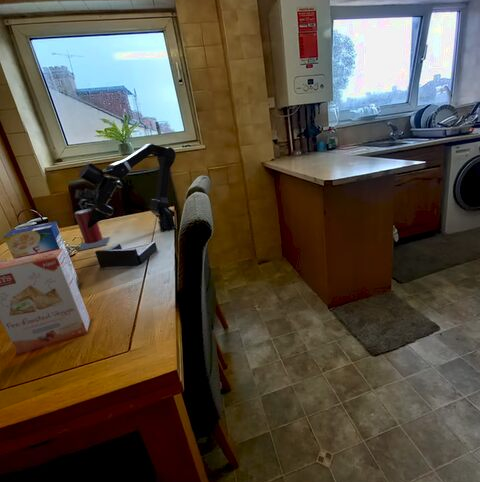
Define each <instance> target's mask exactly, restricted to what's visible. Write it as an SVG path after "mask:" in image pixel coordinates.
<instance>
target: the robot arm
mask: <svg viewBox="0 0 480 482" xmlns="http://www.w3.org/2000/svg"><path fill="white" fill-rule="evenodd" d="M150 155H151V156H154V157H156V158H157V159H156V160H157V162H158V166H159V168H158V174H157V184H156V192H155V197H154V198H150V200H149V201H150V205H149V207H148V208H150V212H151V214H153V215H154V216H155V217H156V218H158V220H157V224H158V228H159V230H160V231H161V232H167V231H171V230H175V229H177V226H176V224H175V219H174V217H175V214H176V213H175V211H174V210H172V209H171V208H170V204H169V200H168V189H169V181H170V173H171V168H172V166H173V164H174V163H175V160H176V155H177V153H176V151H175V150H174V148H173V147H165V146H159V145H156V144H154V143H146V144H144V145H143V146H141V147H140V148H139V149H137V150H136V151H134V152H132V154H130V155H129V156H127V157H125V158H123V159H122V160H118V161H115V162H113V163H110V164H109V165H107V166H106V168H103V169H100V168H99V167H98V166H95V164H94V163H92V162H88V163H87V164H86V165H85V166H83V168H82V169H80V171H79V173H78V178H79V179H81V180H83V181H85V182H87V183H89V184H90V185H92V186H96V185H97V188H96V189H91V188H85V189H84V190H81V189H75V193H74V199H80V200H79V202H78V205H79V208H81V209H80V210H84V209H91V212H92V215H91V217H90V220H89V222H88V225H87V227H89V228H91V227H92V226H93V225H95V224H96V223H97V222H98V223H99V222H100V221H102V220H103V219H105V218H106V217H107V218H108V217H109V216H113V214H114V212H115V210H114V207H112V206H110V205H108V204H109V201H110V200H113V195H114V193H115V190H116V189H117V188H121V189H122V188H124V186H123V184H122V180H116V179H123V178H126V176H127V175H128V174H129V173H130V172H131V170H132V168H133V167H135V166H137V165H138V164H139V163H140V162H142V161H144V160H145V159H147V158H149V156H150ZM107 176H108V177H107Z"/></svg>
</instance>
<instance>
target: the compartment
mask: <svg viewBox="0 0 480 482" xmlns="http://www.w3.org/2000/svg"><path fill="white" fill-rule="evenodd" d="M157 251H158V246H157V243H156V241H152V242H151V243H149V244H148V245H147V246H146V247H144V248H143V249H142V250H137V248H122V246H121V243H117V244H116V243H115V245H114V246H112V247H111V248H109V249H99V250H98V249H97V250H95V251H94V252H95V253H94V254H95V256H96V259H97V262H98V265H99V267H100V268H120V267H121V268H122V267H139V266H141V265H144V263H146V262H147V260H149V259H150V258H151V257H152V256H153V255H154V254H155V253H156V252H157Z"/></svg>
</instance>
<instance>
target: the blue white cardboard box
mask: <svg viewBox="0 0 480 482" xmlns="http://www.w3.org/2000/svg"><path fill="white" fill-rule="evenodd" d="M3 239H4V241H5V243H6V246H7V248H8V250H9V252H10V254H11V256H12V259H16V258H21V257H26V256H31V255H35V254H40V253H45V252H49V251H54V250H59V249H63V251H64V253H65V256H66V259H67V261H68V264H69V266H70V268H71V271H72V274H73V276H74V279H75V281H76V284H77V286H78V287H79V285H80V280H79V277H78V274H77V271H76V269H75V267H74V264H73V261H72V258H71V256H70V253H69V250H68V249H67V246H66V244H65V241H64V239H63V236H62V234H61V231H60V228H59V226H58V223H57V220H56V221H50V222H46V223H45V222H44V223H40V224H36V225H29V226H25V227H20V228H16V229H11V230H10V231H9V232H7V233H6V234H5V235H4V236H3Z"/></svg>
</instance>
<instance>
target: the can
mask: <svg viewBox="0 0 480 482" xmlns="http://www.w3.org/2000/svg"><path fill="white" fill-rule="evenodd" d="M73 215H74V217H75V220H76V223H77V225H78V229H79V230H80V233H81V236H82V239H83V242H85V243H86V244H90V243H95V242H98V241H100V240H102V239H103V238H104V237H103V235H102V231H101V228H100V225H99V222H97V223H96V224H95V225H93V226H92V227H91V228H89V227H87V225H88V222H89V220H90V217H91V215H92V212H91V209H84V210H82V209H80V210H77V211H75V212H74V214H73Z"/></svg>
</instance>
